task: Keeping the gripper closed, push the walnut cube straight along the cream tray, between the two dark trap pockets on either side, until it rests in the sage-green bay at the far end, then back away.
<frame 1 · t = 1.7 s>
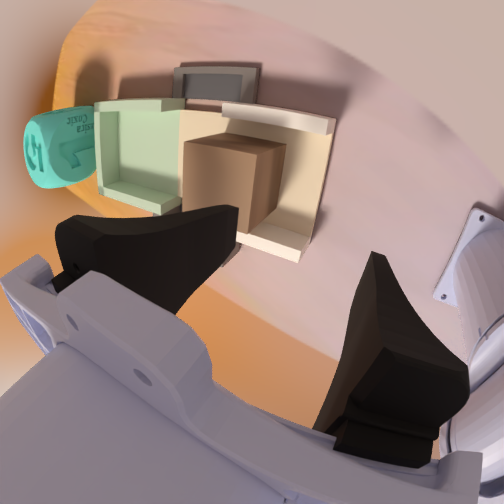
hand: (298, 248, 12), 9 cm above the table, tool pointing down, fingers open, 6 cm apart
decorative dice: (90, 135, 28), on the table
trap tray: (200, 156, 23), on the table
walnut cube: (250, 169, 21), point 1 cm above the table, touching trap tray
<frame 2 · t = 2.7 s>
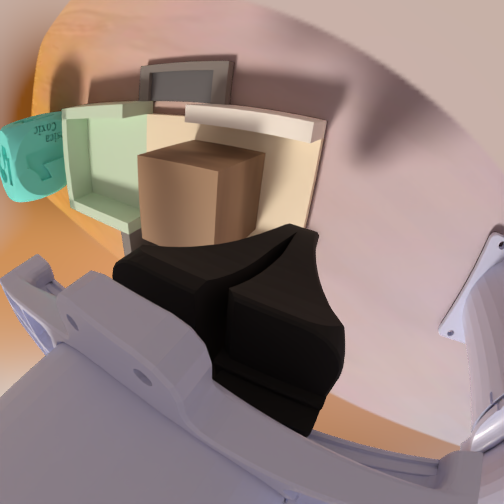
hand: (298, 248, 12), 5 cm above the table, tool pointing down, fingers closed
decorative dice: (65, 143, 25), on the table
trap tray: (171, 167, 19), on the table
walnut cube: (224, 183, 17), point 1 cm above the table, touching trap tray
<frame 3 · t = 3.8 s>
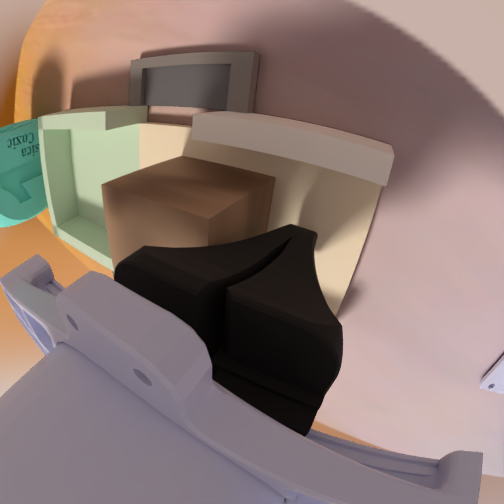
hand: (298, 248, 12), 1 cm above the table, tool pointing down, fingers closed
decorative dice: (48, 155, 21), on the table
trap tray: (172, 193, 15), on the table
walnut cube: (220, 213, 14), point 1 cm above the table, touching gripper
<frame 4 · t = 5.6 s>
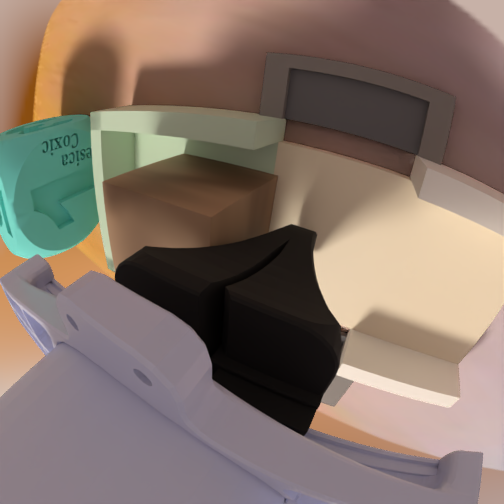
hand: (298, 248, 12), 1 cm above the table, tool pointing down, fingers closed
decorative dice: (86, 162, 18), on the table
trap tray: (310, 235, 13), on the table
walnut cube: (222, 211, 14), point 1 cm above the table, touching gripper
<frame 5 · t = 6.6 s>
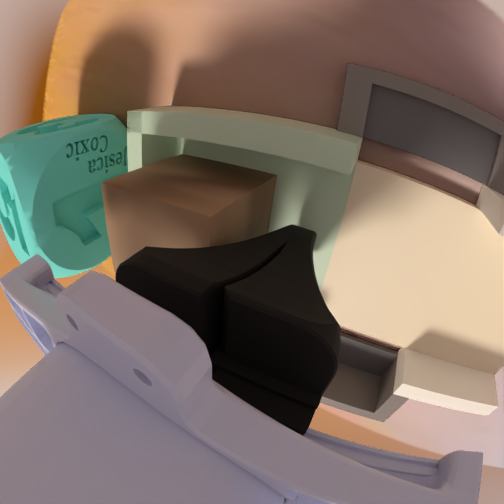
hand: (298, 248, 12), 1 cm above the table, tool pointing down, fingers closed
decorative dice: (109, 168, 17), on the table
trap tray: (376, 258, 12), on the table
walnut cube: (221, 211, 14), point 1 cm above the table, touching gripper, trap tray
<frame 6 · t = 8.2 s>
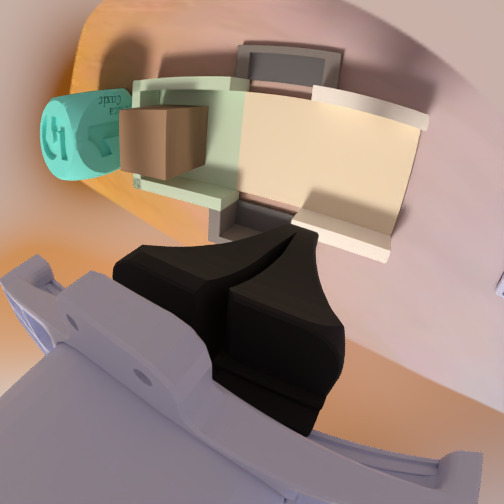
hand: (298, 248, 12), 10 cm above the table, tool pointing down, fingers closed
decorative dice: (118, 123, 25), on the table
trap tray: (267, 145, 20), on the table
walnut cube: (182, 132, 22), point 1 cm above the table, touching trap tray
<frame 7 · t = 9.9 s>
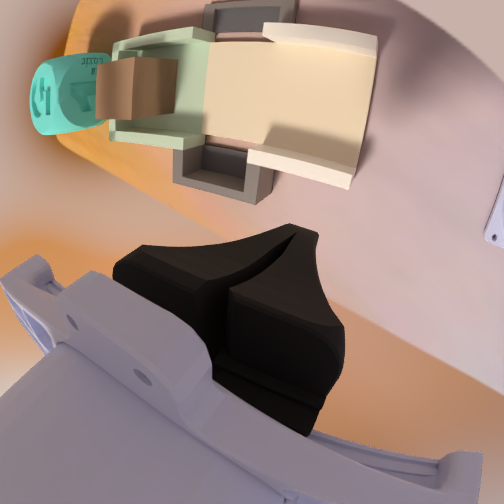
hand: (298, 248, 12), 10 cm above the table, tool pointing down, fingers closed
decorative dice: (102, 88, 24), on the table
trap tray: (230, 88, 19), on the table
walnut cube: (155, 86, 21), point 1 cm above the table, touching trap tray
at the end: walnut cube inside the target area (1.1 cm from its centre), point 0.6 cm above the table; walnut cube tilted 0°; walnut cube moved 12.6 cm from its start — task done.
